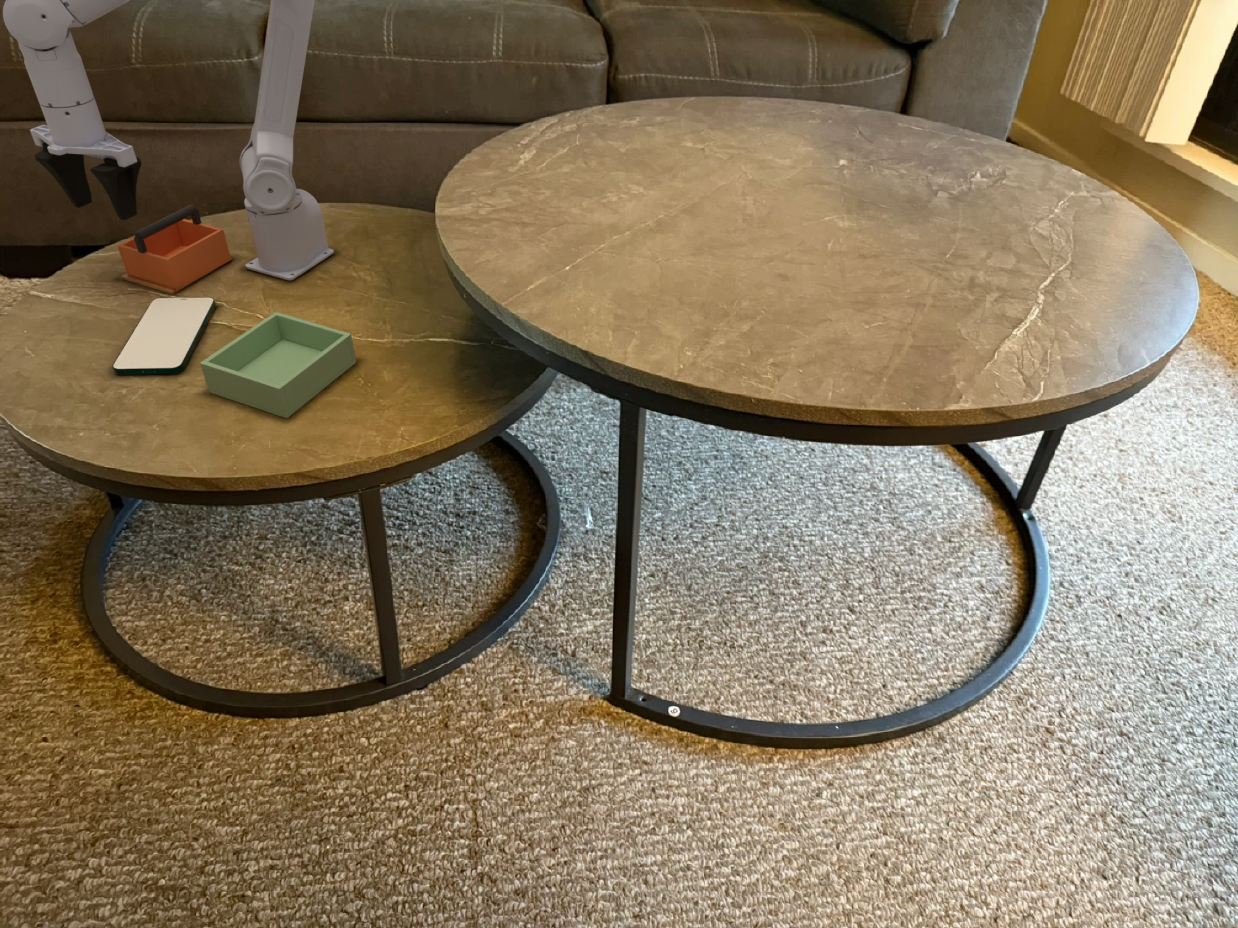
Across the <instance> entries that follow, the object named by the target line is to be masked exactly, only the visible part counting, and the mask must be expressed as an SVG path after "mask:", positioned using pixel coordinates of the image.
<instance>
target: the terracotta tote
mask: <svg viewBox="0 0 1238 928" xmlns="http://www.w3.org/2000/svg"><path fill="white" fill-rule="evenodd" d="M189 217H191V220H190V219H187V218H189ZM116 246H117V250H118V253H119V255H120V259H121V261H122V263H123V267H124V269H125V272H126V273H127V275H128V277H132V278H135V279H138V280H142V281H145V282H148V283H152V284H155V285H158V286H162V287H165V288H168V289H172V290H175V291H177V292H179V291H180V290H182V289H184V288H185V286H186V285H187V286H189V285H191V284H193V283H194V282H196V281H197V279H198V278H199V279H201V278H203V277H204V276H206V275H208V274H210V273H211V272H213V271H215V270H216V269H218V268H220V267H222V266H223V265H225V264H227V263H228V262H230V261H232V260H231V257H232V256H231V253H230V250H229V246H228V242H227V239H226V235H225V231H224V228H219V227H217V226H212V225H209V224H204V223H202V219H201V214H200V211H199V209H198V208H197V207H196V206H194V205H193V204H189V205H187V206H185V207H183V208H181V209H179V210H177V211H175V212H173V213H171V214H169V215H167V216H165V217H163V218H161V219H159V220H157V221H155V222H153V223H151V224H149V225H146V226H145V227H143V228H141V229H140V230H137V231H135V232H134V236H133V237H131V238H129V239H128V240H125V241H123V242H120V243H119V244H117V245H116ZM229 260H230V261H229ZM226 262H227V263H226ZM224 263H225V264H224ZM222 264H223V265H222ZM221 265H222V266H221ZM219 266H220V267H219ZM217 267H218V268H217ZM214 269H215V270H214ZM212 270H213V271H212ZM210 271H211V272H210ZM209 272H210V273H209ZM207 273H208V274H207ZM205 274H206V275H205ZM202 276H203V277H202ZM200 277H201V278H200ZM199 279H198V280H199ZM195 280H196V281H195ZM193 281H194V282H193ZM190 283H191V284H190ZM188 284H189V285H188ZM187 286H186V287H187ZM183 287H184V288H183ZM181 288H182V289H181ZM179 289H180V290H179ZM178 290H179V291H178Z"/></svg>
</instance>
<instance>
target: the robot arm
mask: <svg viewBox="0 0 1238 928" xmlns="http://www.w3.org/2000/svg"><path fill="white" fill-rule="evenodd" d="M130 1H131V0H5V2H4V4H3V7H2V19H3V22H4V25H5V27H6V29H7V31H8V32H9V34H10V35H11V36H12V37H13V38H14V39H15V40H16V41H17V44H18V47H19V50H20V52H21V55H22V56H23V63H24V65H25V68H26V72H27V74H28V77H29V79H30V82H31V86H32V87H33V91H34V93H35V96H36V99H37V101H38V103H39V106H40V109H41V111H42V114H43V117H44V120H45V122H46V124H42V125H38V126H36V127H33V128H31V129H29V131H30V135H31V137H32V140H33V143H34V145H35V146H37V147H42V148H41V150H42V151H39V152H36V153H35V154H34V159H35V161H36V162H37V163H39V164H40V165H41V166H42V167H43V168H44V169H46V171H47V172H48V173H49V174H50V175H51V176H52V177H53V179H55V181H56V182H57V183H58V185H59V186H60V187H61V189H62V191H63V192H64V193H65V195H66V196H67V197H68V199H69V200H70V202H71V204H72V205H73V206H74V207H75V208H77V209H80V208H83V207H84V206H87V205H89V204H91V203H93V197H92V191H91V188H90V185H89V181H88V176H87V172H86V168H85V156H90V157H93V158H98V159H101V160H103V162H102V163H100V164H98V165H96V166H93V167H91V168H90V169H89V171H90V173H91V174H93V176H94V177H95V178H96V179H97V180H98V182H99V183H100V184H101V186H102V187H103V189H104V190H105V192H106V194H107V196H108V198H109V200H110V202H111V204H112V206H113V209H114V212H115V213H116V215H117V217H118V218H119V220H121V221H128V220H129V219H131V218H133V217H135V216H137V215H138V208H137V207H138V206H137V205H138V204H137V183H138V178H139V175H140V174H139V173H140V170H141V167H142V161H141V158H140V157H139V156H137V155H136V153H135V150H134V146H133V145H130V144H126V143H124V142H123V141H121V140H120V139H118V138H116V137H115V136H113V135H112V134H110V133H109V132H107V130H106V128H105V125H104V121H103V120H102V116H101V113H100V110H99V108H98V103H97V101H96V99H95V98H96V97H95V96H94V95H95V94H94V93H93V89H92V87H91V84H90V80H89V78H88V74H87V72H86V69H85V65H84V63H83V59H82V57H81V55H80V53H79V52H78V50H77V47H76V44H75V40H74V38H73V35H72V32H71V30H69V29H72V28H82V27H84V26H86V25H88V24H90V23H92V22H94V21H95V20H97V19H99V18H102V17H103V16H105V15H107V14H108V13H110V12H112V11H114V10H116V9H118V8H120V7H121V6H124V5H125V4H127V3H129V2H130ZM314 7H315V0H270V3H269V11H268V18H267V27H266V33H265V42H264V50H263V55H262V56H263V57H262V64H261V72H260V78H259V79H260V80H259V87H258V94H257V102H256V109H255V117H254V122H253V125H252V128H251V132H250V138H249V141H248V143H247V145H246V146H245V147H244V148H243V150H242V151H241V153H240V156H239V168H240V171H241V173H242V180H243V181H242V182H243V183H242V188H243V189H242V190H243V194H244V196H245V198H244V201H243V205H244V208H245V212H246V216H247V220H248V224H249V228H250V233H251V236H252V241H253V244H254V249H255V252H256V256H257V257H256V258H253V259H252V260H250V261H249V262H247V263H246V264H245V266H244V267H245V269H247V270H249V271H254V272H256V273H257V272H258V273H261V274H263V275H267V276H272V277H274V278H279V279H282V280H286V281H293V280H295V279H296V278H298V277H300V276H301V275H303V274H304V273H306V272H307V271H309V270H310V269H312V268H313V267H315V266H317V265H318V264H319V263H321V262H323V261H324V260H326V259H327V258H329V257H331V256H332V255H333V254H334V253H335V251H334V250H335V249H333V248H329V243H328V238H327V232H326V227H325V222H324V217H323V212H322V209H321V206H320V203H318V201H317V199H316V198H315V197H314V195H312V194H311V193H310V192H308V191H306V190H304V189H301V188H297V186H296V182H295V179H294V177H293V165H294V137H295V130H296V123H297V117H298V109H299V103H300V96H301V92H302V91H301V90H302V85H303V78H304V72H305V71H304V70H305V65H306V59H307V52H308V46H309V39H310V32H311V28H312V27H311V26H312V20H313V14H314Z"/></svg>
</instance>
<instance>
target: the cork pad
mask: <svg viewBox="0 0 1238 928" xmlns="http://www.w3.org/2000/svg"><path fill="white" fill-rule="evenodd" d="M230 257H231V260H229V261H228V262H230V261H233V257H232V256H230ZM228 262H226V263H224V264H222V265H221V266H219V267H217V268H216V269H219V268H220V267H222V266H223V265H225V264H227V263H228ZM216 269H214V270H212V271H210V272H209V273H207V274H205V275H204V276H206V275H208V274H210V273H211V272H213V271H215V270H216ZM204 276H202V277H200V278H198V279H197V280H199V279H201V278H203V277H204ZM120 279H121V280H124V281H126V282H130V283H134V284H137V285H140V286H143V287H147V288H151V289H154V290H157V291H159V292H160V291H161V292H164V293H166V294H171V295H174V294H175V293H177V292H179V291H181V290H182V289H184V288H185V287H187V286H189V285H191V284H192V283H194V282H196V281H197V280H195V281H193V282H192V283H190V284H188V285H186V286H185V287H183V288H181V289H179V290H178V291H175V290H172V289H168V288H165V287H162V286H158V285H155V284H152V283H148V282H145V281H142V280H138V279H135V278H132V277H128V275H127V272H126V273H124V274H122V275H121V276H120Z"/></svg>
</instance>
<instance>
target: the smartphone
mask: <svg viewBox="0 0 1238 928" xmlns="http://www.w3.org/2000/svg"><path fill="white" fill-rule="evenodd" d="M216 306H217V304H216V300H215V298H214V297H211V296H188V297H187V296H186V297H185V296H184V297H183V296H182V297H181V296H180V297H175V296H174V297H173V296H172V297H157V298H154V299H152V300H151V301H150V303H149V304H148V305H147V308H146V310H145V311H144V313H143V315H142V316H141V318H140V319H139V321H138V323H136V325H135V327H134V329H133V331H132V333H131V334H130V336H129V337H128V339H127V340H126V342H125V344H124V345H123V347H122V348H121V351H120V352H119V354H118V355H117V357H116V358H115V360H114V361H113V363H112V369H113V372H114V373H115V374H116V375H169V374H171V375H173V374H178V373H181V372H182V371H184V369H185V368H186V366H187V364H188V362H189V360H190V358H191V356H192V354H193V353H194V350H195V348H196V346H197V344H198V342H199V340H200V338H201V336H202V334H203V332H204V330H205V328H206V327H207V324H208V322H209V320H210V319H211V317H212V314H213V313H214V310H215V308H216Z"/></svg>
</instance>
